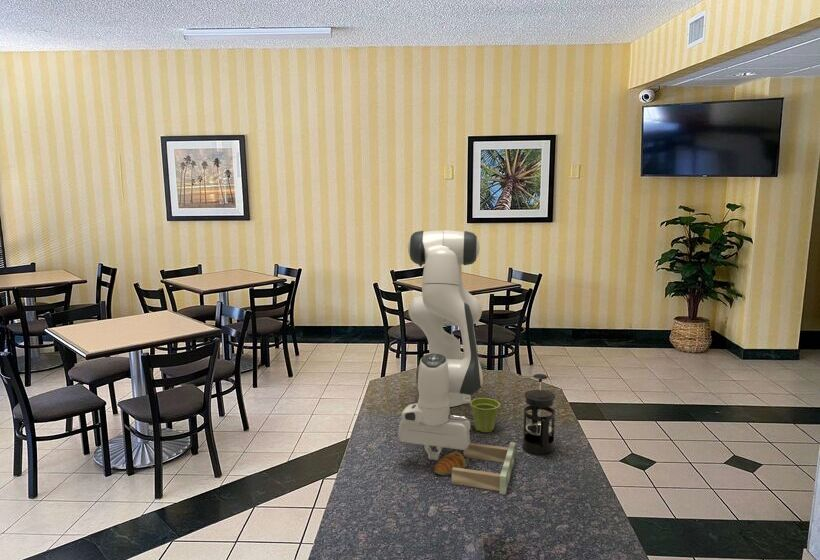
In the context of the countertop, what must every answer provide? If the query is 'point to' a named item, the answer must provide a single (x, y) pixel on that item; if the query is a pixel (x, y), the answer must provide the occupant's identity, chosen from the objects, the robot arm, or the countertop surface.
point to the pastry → (450, 463)
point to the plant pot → (484, 413)
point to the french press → (543, 429)
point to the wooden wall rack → (486, 478)
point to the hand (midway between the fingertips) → (433, 459)
